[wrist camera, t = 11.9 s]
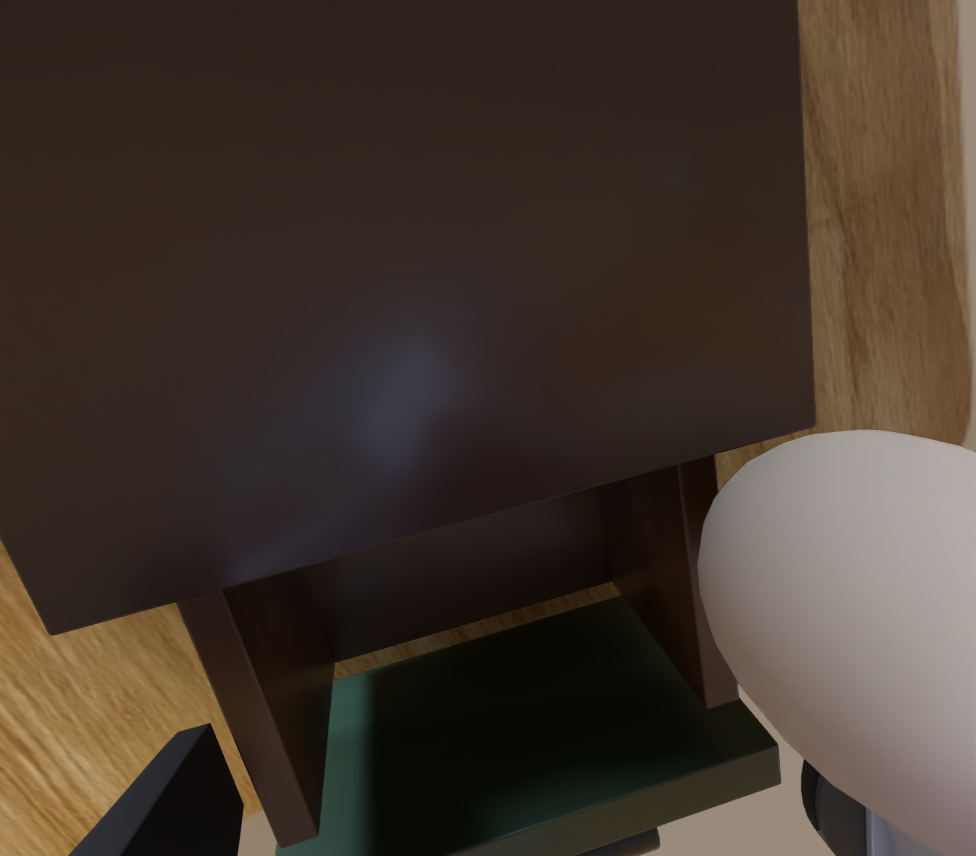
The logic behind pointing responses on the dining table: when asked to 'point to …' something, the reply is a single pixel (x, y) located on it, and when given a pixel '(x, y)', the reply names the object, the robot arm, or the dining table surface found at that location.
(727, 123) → the cabinet
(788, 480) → the egg
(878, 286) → the dining table surface
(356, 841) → the drawer
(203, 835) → the robot arm
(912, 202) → the dining table surface
